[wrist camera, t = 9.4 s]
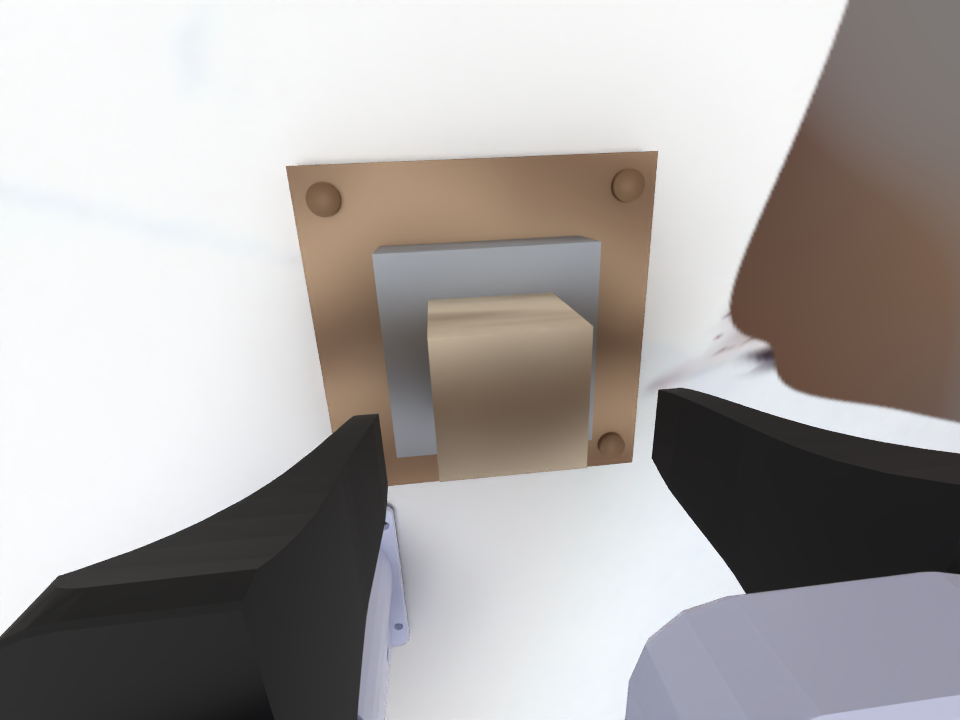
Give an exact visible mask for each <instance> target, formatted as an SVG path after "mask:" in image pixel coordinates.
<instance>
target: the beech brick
mask: <svg viewBox="0 0 960 720" xmlns="http://www.w3.org/2000/svg"><path fill="white" fill-rule="evenodd" d="M427 340H428V352H429V364H430V375H431V387H432V399H433V411H434V422H435V434H436V446H437V458H438V470H439V481H440V482H443V481H454V480H464V479H475V478H485V477H496V476H506V475H517V474H527V473H537V472H548V471H558V470H569V469H579V468H587V453H588V431H589V409H590V387H591V365H592V344H593V326H592V325H591V324H590V323H589V322H588V321H586V320H585V319H584V318H583V317H581V316H580V315H579V314H578V313H577V312H575V311H574V310H573V309H572V308H571V307H569V306H568V305H567V304H566V303H565V302H563V301H562V300H561V299H560V298H558V297H557V296H556V295H555V294H554V293H552V292H549V293H534V294H518V295H502V296H486V297H470V298H455V299H439V300H428V326H427Z"/></svg>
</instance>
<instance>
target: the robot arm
mask: <svg viewBox="0 0 960 720" xmlns="http://www.w3.org/2000/svg"><path fill="white" fill-rule="evenodd" d="M652 459H653V461H654V463H655V465H656V467H657V469H658V471H659V473H660V475H661V476H662V478H663V480H664V481H665V483H666V485H667V487H668V488H669V490H670V491H671V492H672V494H673V495H674V497H675V498H676V499H677V501H678V502H679V503H680V504H681V506H682V507H683V508H684V510H685V511H686V512H687V514H688V515H689V516H690V517H691V519H692V520H693V521H694V523H695V524H696V525H697V526H698V528H699V529H700V530H701V532H702V533H703V534H704V535H705V537H706V538H707V539H708V541H709V542H710V543H711V544H712V546H713V547H714V548H715V550H716V551H717V552H718V553H719V555H720V556H721V557H722V558H723V560H724V561H725V563H726V564H727V565H728V567H729V568H730V570H731V571H732V572H733V574H734V575H735V577H736V578H737V580H738V582H739V583H740V585H741V586H742V588H743V590H744V591H745V593H746V594H743V595H734V596H726V597H723V598H720V599H717V600H714V601H711V602H708V603H705V604H702V605H699V606H696V607H693V608H690V609H686V610H683V611H682V612H680V613H679V614H678V615H677V616H676V617H674V618H673V619H672V620H671V621H669V622H668V623H667V624H666V625H665V626H663V627H662V628H661V629H660V630H658V631H657V632H656V633H655V634H653V635H652V636H651V637H650V638H649V639H648V641H647V642H646V644H645V646H644V649H643V651H642V653H641V655H640V658H639V660H638V662H637V664H636V667H635V669H634V671H633V673H632V675H631V678H630V680H629V686H628V696H627V706H626V716H625V720H960V454H959V453H951V452H943V451H936V450H928V449H922V448H916V447H909V446H903V445H897V444H891V443H885V442H880V441H875V440H869V439H864V438H860V437H855V436H851V435H846V434H842V433H837V432H833V431H828V430H824V429H820V428H817V427H813V426H809V425H805V424H802V423H798V422H795V421H791V420H788V419H784V418H781V417H778V416H775V415H771V414H768V413H765V412H762V411H759V410H755V409H752V408H749V407H746V406H743V405H740V404H737V403H734V402H731V401H728V400H725V399H722V398H719V397H716V396H712V395H709V394H706V393H702V392H699V391H695V390H690V389H685V388H674V389H662V390H658V400H657V410H656V421H655V431H654V441H653V451H652ZM387 492H388V480H387V473H386V465H385V458H384V450H383V443H382V435H381V428H380V420H379V414H367V415H356V416H353V417H351V418H350V419H349V420H347V421H346V422H345V423H344V424H343V425H342V426H341V427H339V428H338V429H337V430H336V431H335V432H334V433H333V434H332V435H330V436H329V437H328V438H327V439H326V440H325V441H324V442H322V443H321V444H320V445H319V446H318V447H317V448H315V449H314V450H313V451H312V452H311V453H309V454H308V455H307V456H305V457H304V458H303V459H302V460H300V461H299V462H298V463H296V464H295V465H294V466H293V467H291V468H290V469H289V470H287V471H286V472H285V473H283V474H282V475H281V476H279V477H278V478H276V479H275V480H273V481H272V482H270V483H269V484H267V485H266V486H264V487H262V488H261V489H259V490H258V491H256V492H254V493H253V494H251V495H250V496H248V497H246V498H244V499H243V500H241V501H239V502H237V503H235V504H233V505H231V506H230V507H228V508H226V509H224V510H222V511H220V512H218V513H216V514H214V515H212V516H211V517H209V518H207V519H205V520H203V521H201V522H199V523H197V524H194V525H192V526H190V527H188V528H186V529H183V530H181V531H179V532H177V533H175V534H172V535H170V536H167V537H165V538H163V539H160V540H158V541H155V542H153V543H151V544H148V545H146V546H143V547H141V548H138V549H135V550H133V551H130V552H127V553H125V554H122V555H119V556H116V557H113V558H110V559H107V560H105V561H102V562H99V563H96V564H93V565H90V566H87V567H85V568H82V569H79V570H76V571H73V572H70V573H67V574H64V575H61V576H58V577H57V578H56V579H55V580H54V581H53V582H52V583H51V584H50V585H49V586H48V587H47V588H46V590H45V591H44V592H43V593H42V594H41V595H40V596H39V597H38V598H37V599H36V600H35V601H34V602H33V603H32V604H31V605H30V606H29V607H28V608H27V609H26V610H25V611H24V612H23V613H22V614H21V616H20V617H19V618H18V619H17V620H16V621H15V622H14V623H13V624H12V625H11V626H10V627H9V628H8V629H7V630H6V631H5V632H4V633H3V634H2V635H1V636H0V720H385V714H386V702H387V691H388V679H389V667H390V655H391V646H399V645H404V644H406V643H407V642H408V641H409V626H408V619H407V611H406V604H405V596H404V588H403V581H402V573H401V566H400V558H399V551H398V543H397V535H396V528H395V520H394V513H393V510H392V509H391V508H390V507H388V506H387ZM385 522H387V523H389V524H387V525H385ZM397 623H401V624H397Z"/></svg>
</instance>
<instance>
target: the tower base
mask: <svg viewBox="0 0 960 720" xmlns="http://www.w3.org/2000/svg"><path fill="white" fill-rule="evenodd" d="M657 157H658V151H647V152H622V153H598V154H573V155H549V156H524V157H500V158H475V159H451V160H426V161H401V162H377V163H352V164H328V165H303V166H286V170H287V176H288V182H289V187H290V193H291V199H292V205H293V210H294V216H295V222H296V227H297V233H298V239H299V245H300V250H301V256H302V262H303V267H304V273H305V279H306V285H307V290H308V296H309V302H310V307H311V313H312V319H313V324H314V330H315V336H316V342H317V347H318V353H319V359H320V364H321V370H322V376H323V382H324V387H325V393H326V399H327V404H328V410H329V416H330V421H331V427H332V433H334V432H335V431H336V430H337V429H338V428H339V427H341V426H342V425H343V424H344V423H345V422H346V421H347V420H349V419H350V418H351V417H353V416H356V415H367V414H379V420H380V428H381V435H382V443H383V450H384V458H385V465H386V473H387V480H388V486H392V485H403V484H413V483H423V482H434V481H439V470H438V458H437V446H436V434H435V422H434V411H433V399H432V387H431V375H430V364H429V352H428V340H427V326H428V300H439V299H455V298H470V297H486V296H502V295H518V294H534V293H549V292H552V293H554V294H555V295H556V296H557V297H558V298H560V299H561V300H562V301H563V302H565V303H566V304H567V305H568V306H569V307H571V308H572V309H573V310H574V311H575V312H577V313H578V314H579V315H580V316H581V317H583V318H584V319H585V320H586V321H588V322H589V323H590V324H591V325H592V326H593V344H592V365H591V387H590V409H589V431H588V453H587V467H588V466H599V465H609V464H619V463H629V462H632V457H633V445H634V433H635V421H636V409H637V397H638V385H639V373H640V361H641V349H642V337H643V325H644V313H645V301H646V289H647V277H648V265H649V253H650V241H651V229H652V217H653V205H654V193H655V181H656V169H657Z"/></svg>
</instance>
